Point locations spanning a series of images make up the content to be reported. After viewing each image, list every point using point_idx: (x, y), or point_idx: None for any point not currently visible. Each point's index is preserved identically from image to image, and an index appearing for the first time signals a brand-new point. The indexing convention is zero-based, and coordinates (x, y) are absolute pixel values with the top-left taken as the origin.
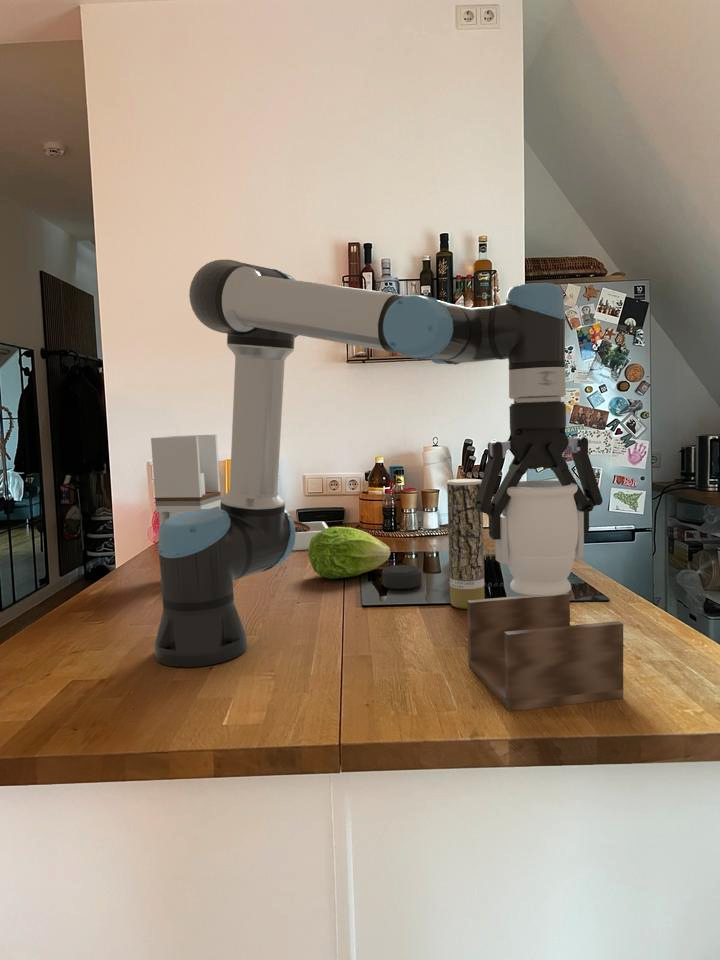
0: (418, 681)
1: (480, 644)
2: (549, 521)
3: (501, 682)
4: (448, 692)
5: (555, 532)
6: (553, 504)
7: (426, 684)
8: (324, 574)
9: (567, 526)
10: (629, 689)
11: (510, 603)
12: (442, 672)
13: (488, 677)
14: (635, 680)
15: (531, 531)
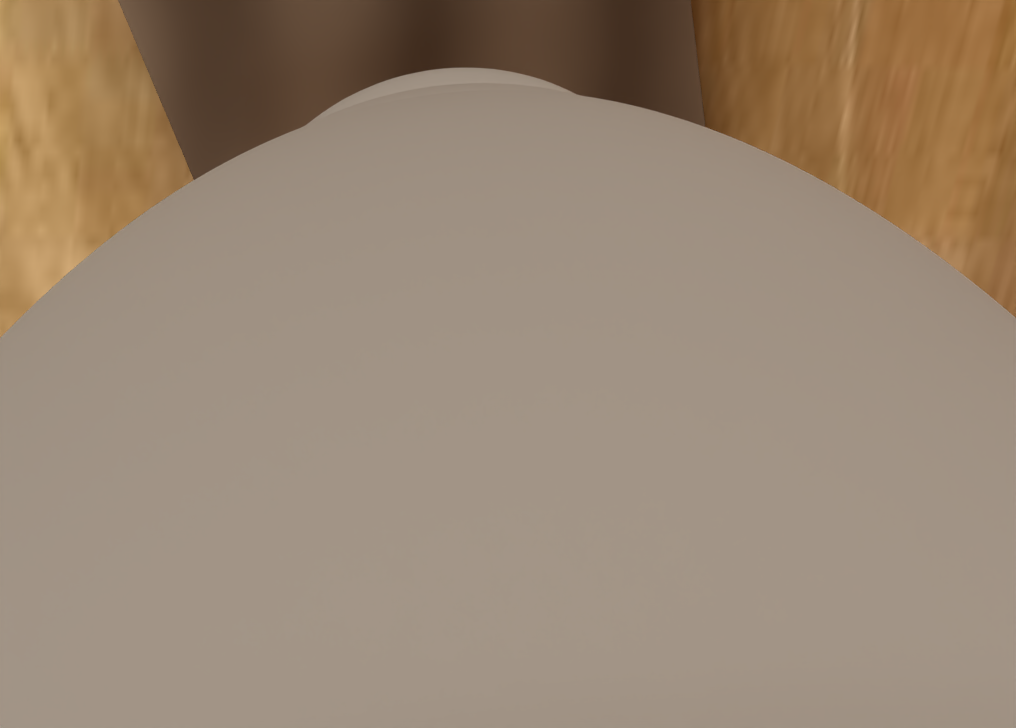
0: (956, 136)
1: None
2: (455, 206)
3: (646, 29)
4: (865, 12)
5: (324, 151)
6: (251, 641)
7: (933, 104)
8: None
9: (33, 313)
10: (62, 32)
11: None
12: None
13: (691, 90)
14: (27, 138)
15: (800, 180)
